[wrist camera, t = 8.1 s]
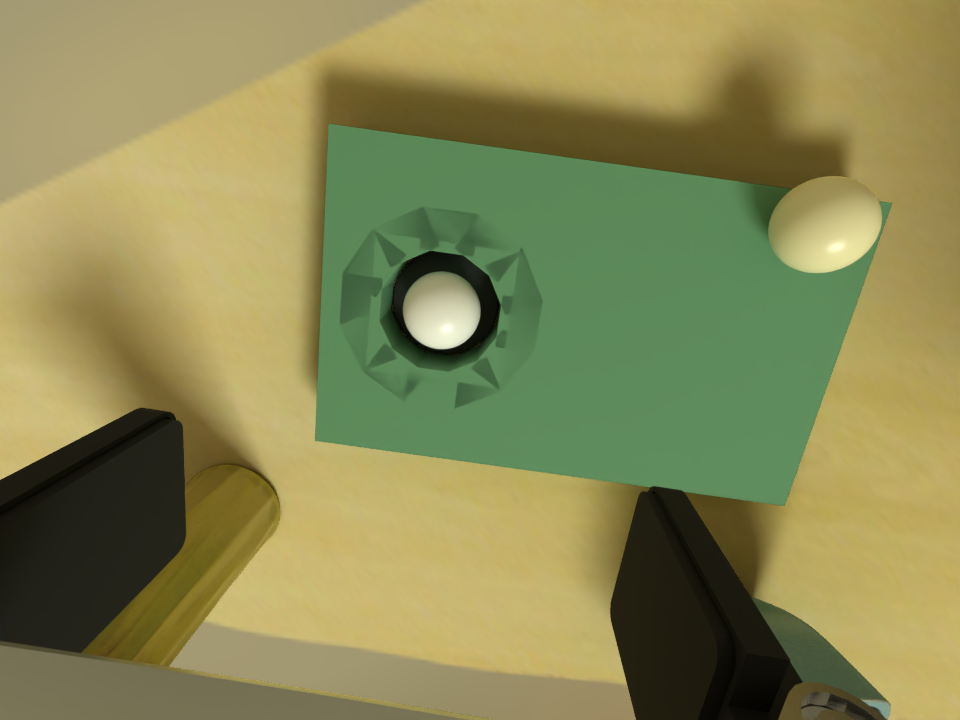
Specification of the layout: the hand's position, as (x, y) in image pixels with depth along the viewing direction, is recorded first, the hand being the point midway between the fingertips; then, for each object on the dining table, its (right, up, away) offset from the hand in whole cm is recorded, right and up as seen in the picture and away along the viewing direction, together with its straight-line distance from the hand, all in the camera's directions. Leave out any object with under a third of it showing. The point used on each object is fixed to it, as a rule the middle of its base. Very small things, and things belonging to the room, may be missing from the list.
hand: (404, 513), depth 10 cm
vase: (-14, -6, +22) cm, 27 cm away
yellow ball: (+16, +9, +11) cm, 22 cm away
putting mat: (+7, +5, +18) cm, 20 cm away
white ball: (0, +6, +16) cm, 17 cm away
